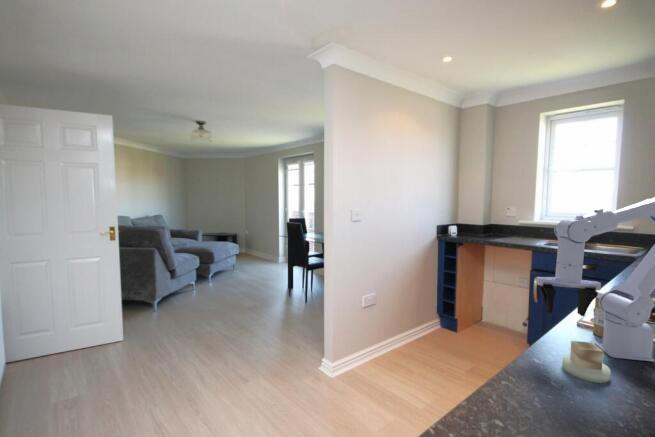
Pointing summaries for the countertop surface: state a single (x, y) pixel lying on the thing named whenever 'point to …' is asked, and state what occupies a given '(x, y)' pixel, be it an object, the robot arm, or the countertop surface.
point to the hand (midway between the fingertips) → (564, 313)
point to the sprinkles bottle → (598, 316)
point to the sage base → (586, 371)
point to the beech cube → (586, 355)
